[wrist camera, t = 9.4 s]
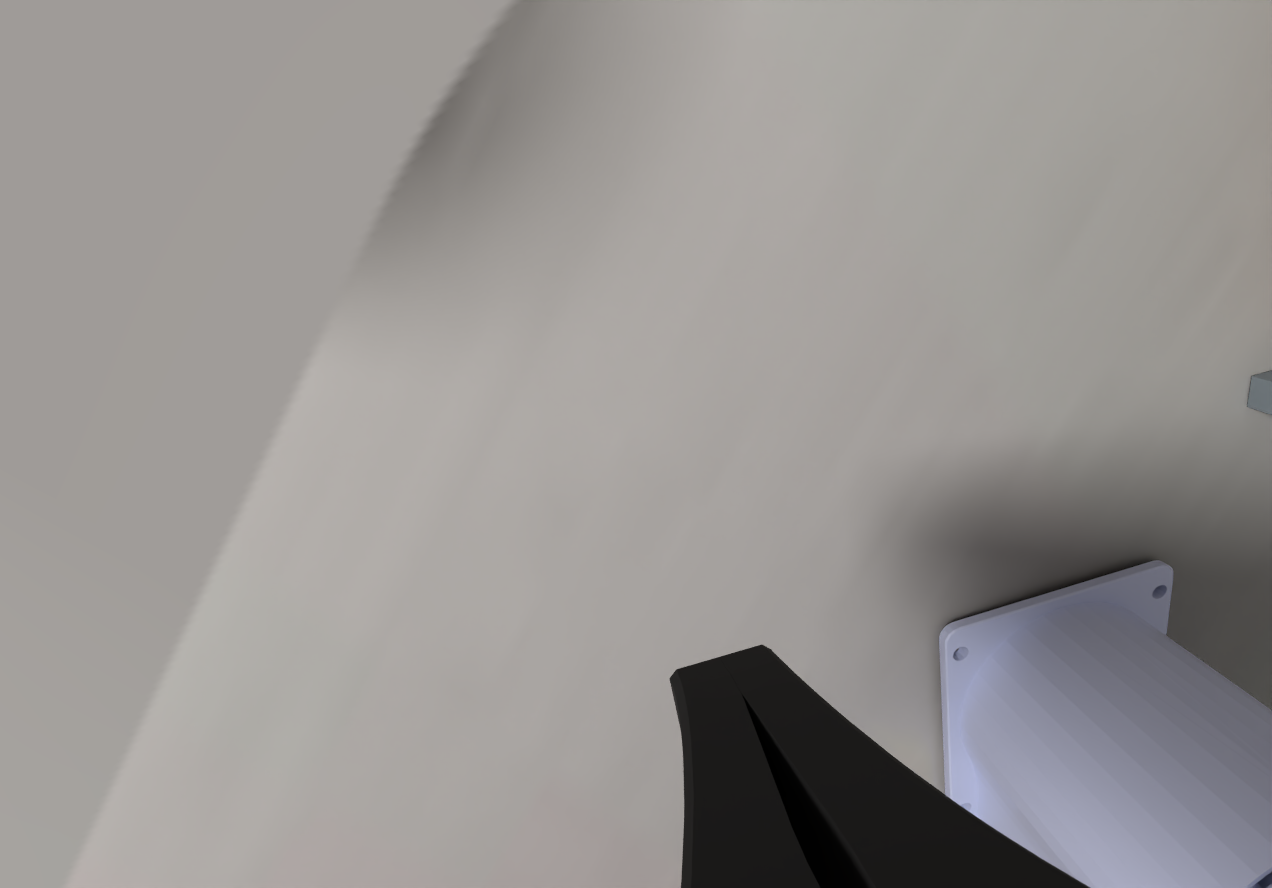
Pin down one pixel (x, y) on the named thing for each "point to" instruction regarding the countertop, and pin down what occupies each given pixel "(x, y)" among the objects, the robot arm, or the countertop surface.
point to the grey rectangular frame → (1261, 392)
